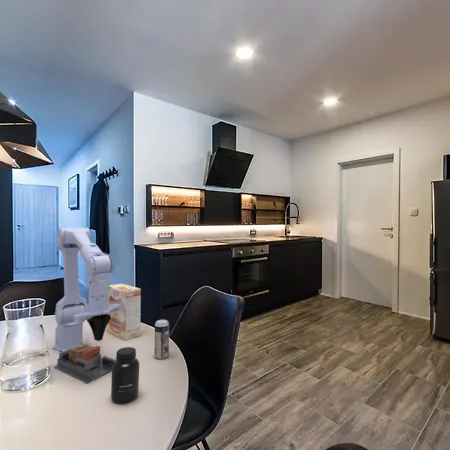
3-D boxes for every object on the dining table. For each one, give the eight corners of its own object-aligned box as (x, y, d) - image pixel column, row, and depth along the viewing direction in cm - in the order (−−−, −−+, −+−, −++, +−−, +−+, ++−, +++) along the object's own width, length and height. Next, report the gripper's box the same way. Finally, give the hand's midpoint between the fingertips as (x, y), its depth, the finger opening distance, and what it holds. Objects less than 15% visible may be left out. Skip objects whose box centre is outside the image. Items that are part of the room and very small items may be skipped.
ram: (76, 368, 86) (77, 350, 86) (93, 360, 91) (93, 343, 91) (84, 371, 84) (84, 353, 84) (101, 363, 89) (101, 346, 89)
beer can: (165, 360, 94) (165, 324, 94) (152, 358, 95) (152, 323, 95) (170, 354, 98) (171, 319, 98) (158, 352, 99) (158, 318, 99)
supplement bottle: (122, 408, 69) (123, 359, 69) (105, 399, 72) (106, 352, 72) (144, 394, 75) (145, 348, 75) (127, 386, 78) (127, 343, 78)
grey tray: (54, 367, 88) (54, 355, 88) (86, 354, 97) (87, 342, 97) (87, 383, 79) (87, 369, 79) (119, 367, 89) (119, 354, 89)
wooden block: (68, 364, 89) (68, 346, 89) (83, 358, 93) (83, 341, 94) (77, 368, 87) (77, 350, 87) (92, 362, 91) (92, 344, 91)
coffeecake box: (106, 331, 119) (106, 285, 119) (121, 327, 124) (122, 283, 125) (124, 341, 109) (125, 290, 109) (140, 335, 115) (141, 288, 115)
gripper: (84, 302, 77) (84, 351, 77) (127, 292, 90) (126, 334, 90) (69, 298, 81) (69, 345, 81) (112, 289, 94) (112, 330, 93)
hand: (98, 339), depth 86 cm, fingers closed
